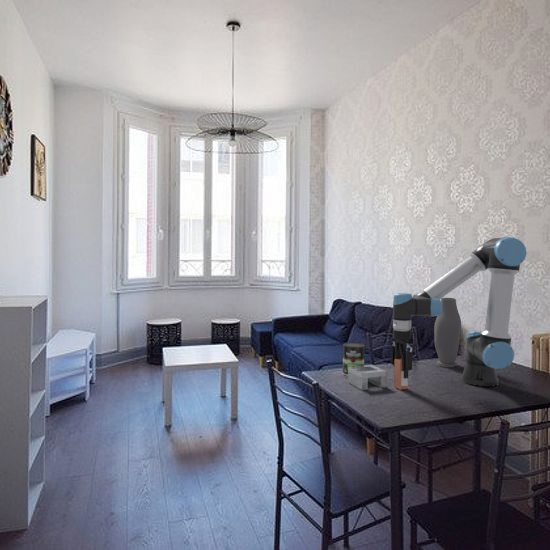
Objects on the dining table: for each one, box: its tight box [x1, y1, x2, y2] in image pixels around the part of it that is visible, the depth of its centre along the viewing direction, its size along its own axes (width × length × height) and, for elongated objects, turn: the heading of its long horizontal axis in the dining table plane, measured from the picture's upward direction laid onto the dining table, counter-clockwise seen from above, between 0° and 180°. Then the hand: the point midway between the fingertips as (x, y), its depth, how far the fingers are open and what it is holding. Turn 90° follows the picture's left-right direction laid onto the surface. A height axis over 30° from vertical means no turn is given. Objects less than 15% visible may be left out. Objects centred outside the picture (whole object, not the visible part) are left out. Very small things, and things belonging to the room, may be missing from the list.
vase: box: [433, 297, 462, 368], centre depth 227 cm, size 13×13×35 cm
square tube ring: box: [347, 364, 388, 391], centre depth 193 cm, size 12×12×7 cm
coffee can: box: [342, 342, 366, 377], centre depth 210 cm, size 10×10×14 cm
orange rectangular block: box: [393, 358, 409, 390], centre depth 188 cm, size 4×4×12 cm
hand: (401, 383), depth 188 cm, fingers closed on orange rectangular block, 4 cm apart
